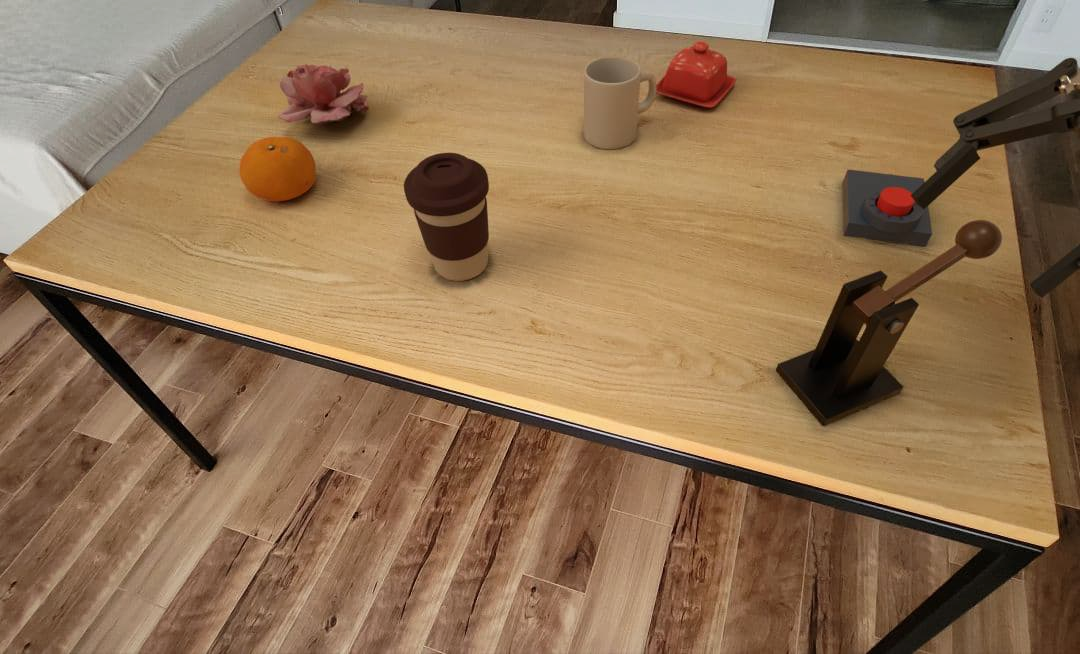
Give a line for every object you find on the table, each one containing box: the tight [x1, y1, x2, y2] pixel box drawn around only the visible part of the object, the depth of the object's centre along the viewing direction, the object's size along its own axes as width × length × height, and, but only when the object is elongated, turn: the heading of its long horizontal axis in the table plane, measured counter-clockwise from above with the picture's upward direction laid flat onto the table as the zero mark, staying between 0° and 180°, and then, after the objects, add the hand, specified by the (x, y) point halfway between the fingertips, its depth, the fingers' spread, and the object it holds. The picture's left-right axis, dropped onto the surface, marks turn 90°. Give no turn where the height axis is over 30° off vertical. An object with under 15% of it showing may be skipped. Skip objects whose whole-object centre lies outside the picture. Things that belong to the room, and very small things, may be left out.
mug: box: [582, 56, 657, 150], centre depth 100 cm, size 12×8×11 cm
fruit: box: [238, 136, 317, 202], centre depth 95 cm, size 10×10×8 cm
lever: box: [853, 219, 1003, 326], centre depth 60 cm, size 14×4×4 cm, turn 113°
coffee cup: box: [403, 152, 490, 282], centre depth 80 cm, size 10×10×15 cm
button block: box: [842, 168, 933, 247], centre depth 86 cm, size 13×10×4 cm
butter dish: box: [656, 40, 737, 109], centre depth 108 cm, size 12×12×8 cm
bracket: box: [775, 270, 920, 427], centre depth 65 cm, size 10×8×14 cm
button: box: [877, 187, 915, 217], centre depth 82 cm, size 4×4×2 cm
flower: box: [278, 63, 370, 124], centre depth 107 cm, size 15×15×10 cm
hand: (971, 244), depth 60 cm, fingers open, 13 cm apart
